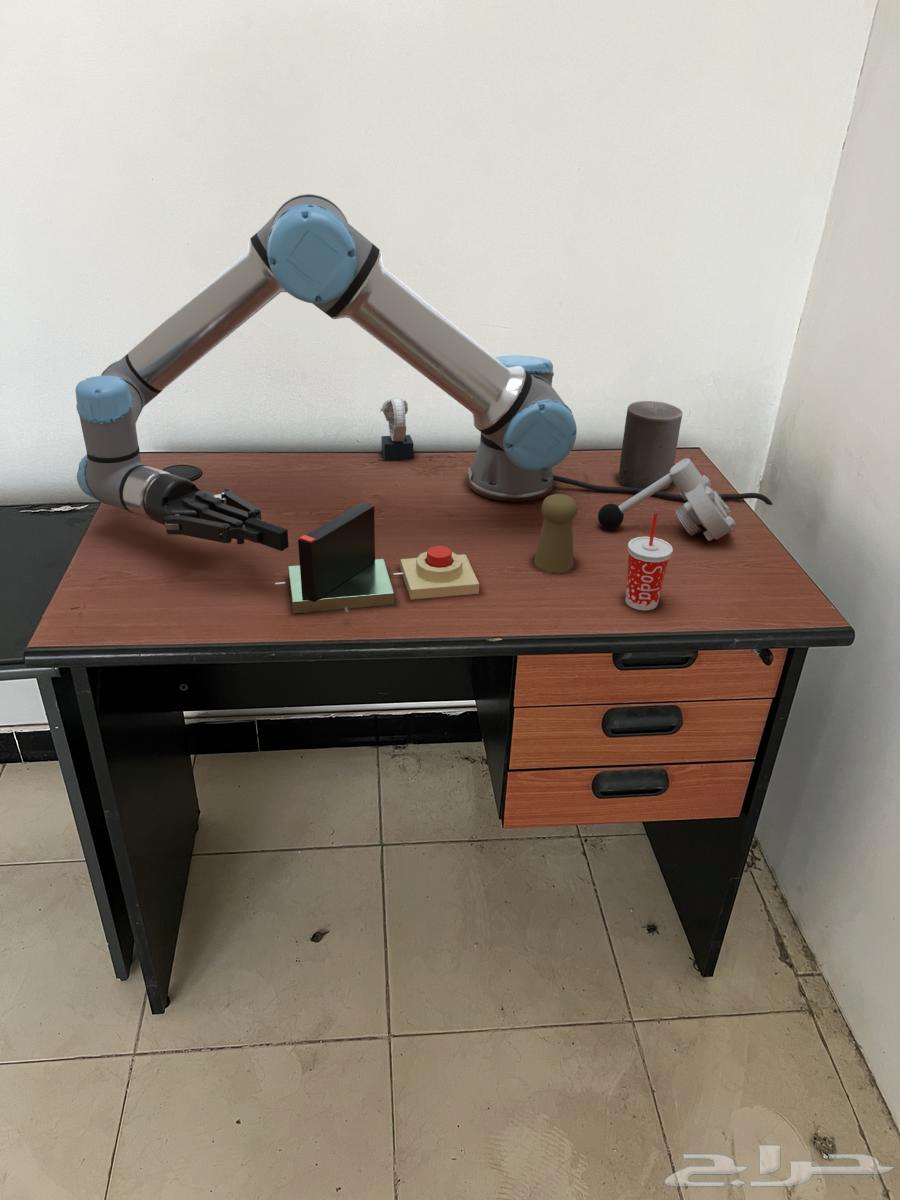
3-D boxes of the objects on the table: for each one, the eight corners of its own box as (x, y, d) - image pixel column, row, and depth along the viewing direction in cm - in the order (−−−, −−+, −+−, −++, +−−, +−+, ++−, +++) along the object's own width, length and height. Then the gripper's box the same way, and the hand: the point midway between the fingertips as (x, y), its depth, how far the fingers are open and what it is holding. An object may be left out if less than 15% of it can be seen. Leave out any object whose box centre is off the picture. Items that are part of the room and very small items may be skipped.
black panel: (363, 557, 133) (361, 500, 128) (375, 561, 132) (374, 504, 127) (301, 597, 123) (297, 537, 118) (314, 602, 122) (310, 542, 117)
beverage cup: (616, 608, 126) (628, 519, 119) (624, 587, 131) (637, 501, 124) (659, 617, 125) (675, 527, 117) (666, 596, 130) (681, 508, 122)
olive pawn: (547, 576, 134) (554, 509, 128) (526, 558, 138) (532, 493, 132) (581, 567, 136) (589, 502, 130) (559, 550, 141) (566, 486, 135)
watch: (408, 446, 176) (408, 391, 170) (414, 462, 169) (415, 406, 163) (379, 447, 175) (378, 393, 169) (385, 463, 168) (384, 407, 162)
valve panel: (393, 556, 138) (393, 543, 136) (413, 619, 123) (414, 606, 121) (273, 565, 134) (272, 552, 133) (279, 631, 119) (278, 618, 118)
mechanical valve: (743, 535, 140) (691, 461, 136) (645, 594, 147) (593, 525, 142) (733, 512, 149) (684, 441, 145) (641, 568, 156) (592, 502, 152)
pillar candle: (613, 487, 162) (623, 407, 154) (623, 467, 170) (633, 390, 162) (667, 496, 159) (680, 415, 151) (674, 475, 167) (688, 397, 159)
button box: (465, 563, 136) (466, 543, 134) (478, 593, 129) (480, 572, 127) (400, 568, 134) (400, 548, 132) (410, 599, 127) (410, 578, 125)
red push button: (448, 555, 132) (449, 544, 131) (453, 567, 129) (454, 556, 128) (424, 557, 131) (424, 546, 130) (429, 569, 128) (429, 558, 127)
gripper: (198, 505, 140) (316, 546, 129) (132, 536, 130) (253, 583, 120) (192, 460, 136) (313, 498, 125) (124, 489, 126) (248, 533, 116)
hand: (284, 540), depth 122 cm, fingers closed
